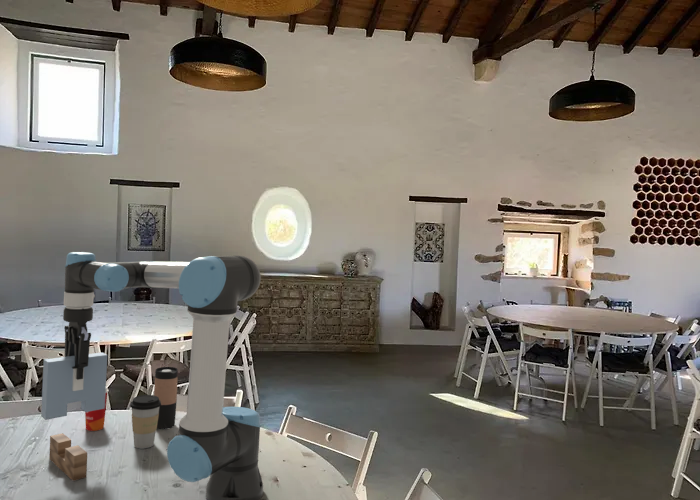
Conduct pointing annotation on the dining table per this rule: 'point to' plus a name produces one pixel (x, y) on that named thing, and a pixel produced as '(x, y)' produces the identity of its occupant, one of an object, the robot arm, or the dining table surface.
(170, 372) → the travel mug
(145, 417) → the coffee cup
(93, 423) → the paper cup
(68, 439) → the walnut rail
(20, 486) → the dining table surface
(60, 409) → the light blue slab
